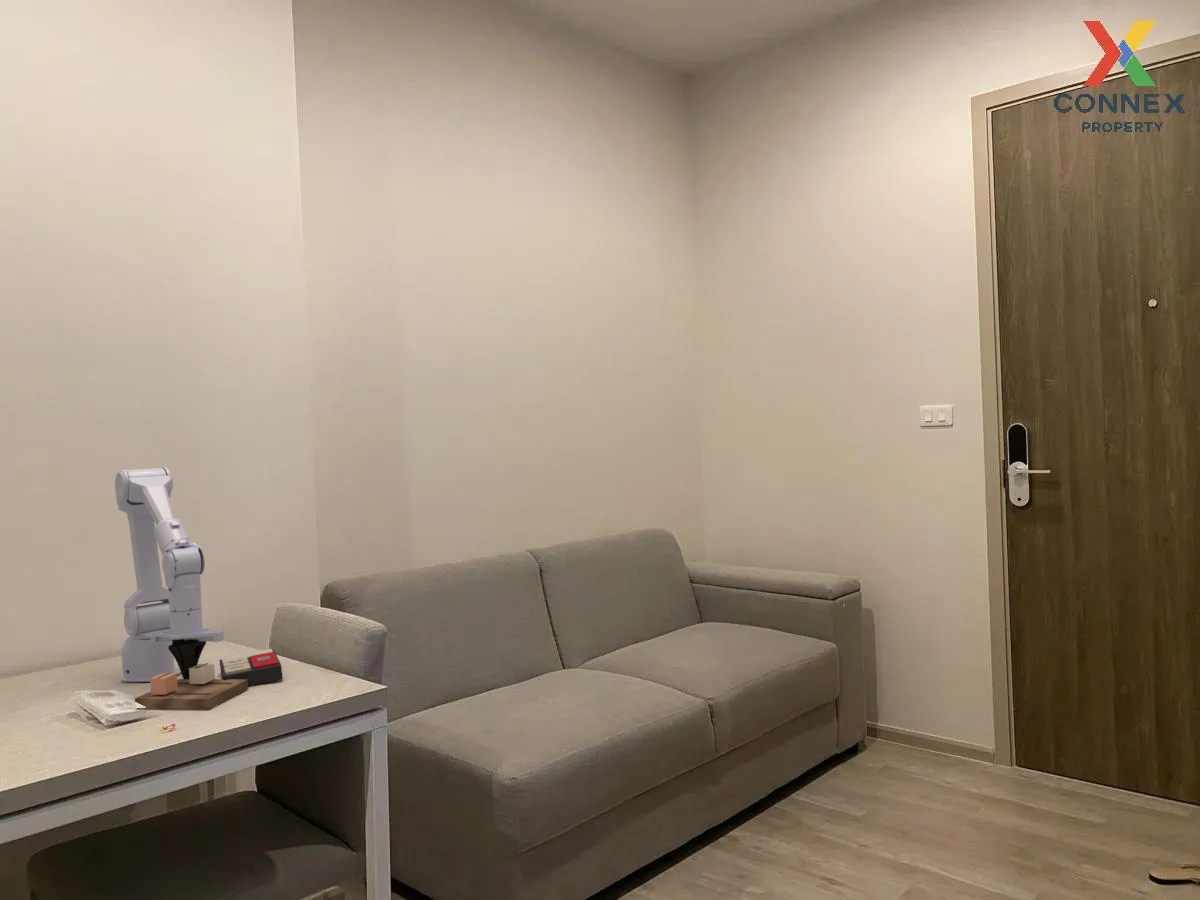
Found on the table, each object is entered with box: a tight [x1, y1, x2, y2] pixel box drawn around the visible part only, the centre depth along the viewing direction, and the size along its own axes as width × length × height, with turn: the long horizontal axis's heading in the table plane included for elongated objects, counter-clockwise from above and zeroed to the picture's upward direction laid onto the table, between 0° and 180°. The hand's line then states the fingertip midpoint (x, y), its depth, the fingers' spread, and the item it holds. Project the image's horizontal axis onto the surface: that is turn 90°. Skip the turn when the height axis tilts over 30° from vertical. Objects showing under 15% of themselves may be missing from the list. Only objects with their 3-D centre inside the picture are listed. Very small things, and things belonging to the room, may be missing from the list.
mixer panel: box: [134, 678, 249, 711], centre depth 172 cm, size 15×13×2 cm
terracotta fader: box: [149, 673, 178, 695], centre depth 170 cm, size 3×4×3 cm
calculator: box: [219, 648, 283, 687], centre depth 187 cm, size 11×4×15 cm
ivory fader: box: [189, 662, 216, 684], centre depth 176 cm, size 3×4×3 cm
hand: (189, 678), depth 176 cm, fingers closed
